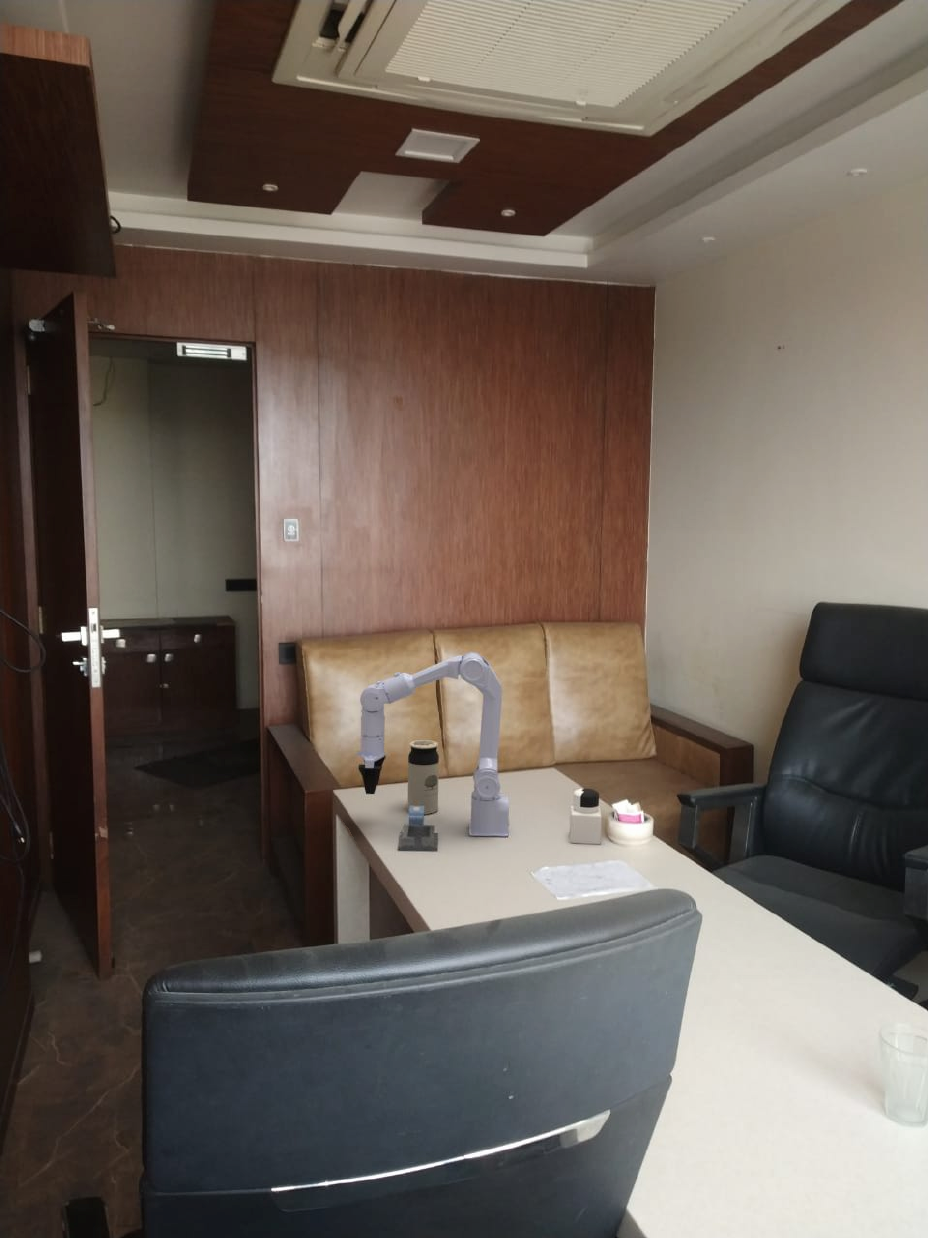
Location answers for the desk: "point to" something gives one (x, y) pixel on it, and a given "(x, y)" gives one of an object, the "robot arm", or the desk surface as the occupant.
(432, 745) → the travel mug
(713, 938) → the desk surface
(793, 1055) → the desk surface
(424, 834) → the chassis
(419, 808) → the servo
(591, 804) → the grey rotary knob pedestal
